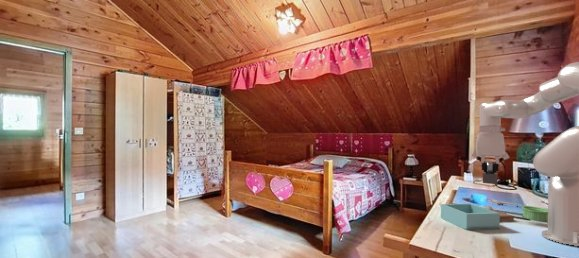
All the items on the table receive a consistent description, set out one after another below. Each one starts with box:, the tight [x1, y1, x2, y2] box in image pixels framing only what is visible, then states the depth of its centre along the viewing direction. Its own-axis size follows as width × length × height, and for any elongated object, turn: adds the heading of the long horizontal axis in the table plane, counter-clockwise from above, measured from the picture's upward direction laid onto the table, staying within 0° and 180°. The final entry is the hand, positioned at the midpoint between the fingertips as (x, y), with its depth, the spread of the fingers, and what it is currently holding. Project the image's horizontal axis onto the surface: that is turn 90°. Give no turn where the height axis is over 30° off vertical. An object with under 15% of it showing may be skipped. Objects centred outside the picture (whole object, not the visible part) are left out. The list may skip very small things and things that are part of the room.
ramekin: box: [521, 205, 548, 223], centre depth 117 cm, size 9×9×4 cm
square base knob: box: [482, 160, 498, 185], centre depth 119 cm, size 5×5×9 cm
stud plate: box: [484, 205, 515, 222], centre depth 119 cm, size 12×12×5 cm
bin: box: [440, 203, 501, 231], centre depth 110 cm, size 14×14×6 cm
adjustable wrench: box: [486, 198, 548, 210], centre depth 136 cm, size 25×6×2 cm, turn 43°
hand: (490, 171), depth 119 cm, fingers closed on square base knob, 3 cm apart
